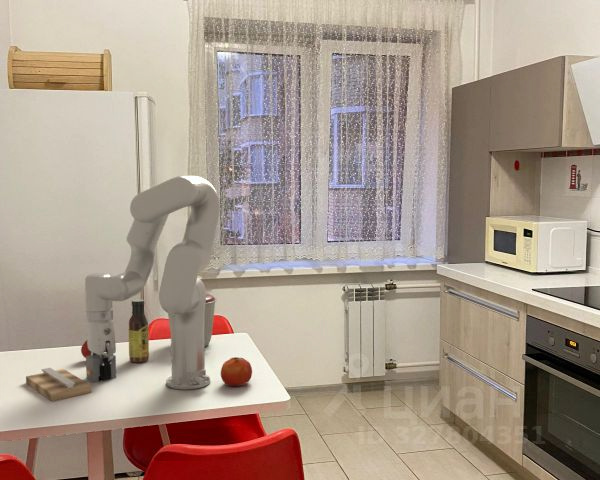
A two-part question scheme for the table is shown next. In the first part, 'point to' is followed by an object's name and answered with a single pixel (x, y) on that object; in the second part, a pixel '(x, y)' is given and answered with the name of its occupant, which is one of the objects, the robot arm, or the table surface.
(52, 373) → the rail
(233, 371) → the tomato
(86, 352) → the red oval fruit
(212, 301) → the canister
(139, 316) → the sauce bottle
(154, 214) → the robot arm
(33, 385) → the mounting board
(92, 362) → the block
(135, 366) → the table surface
